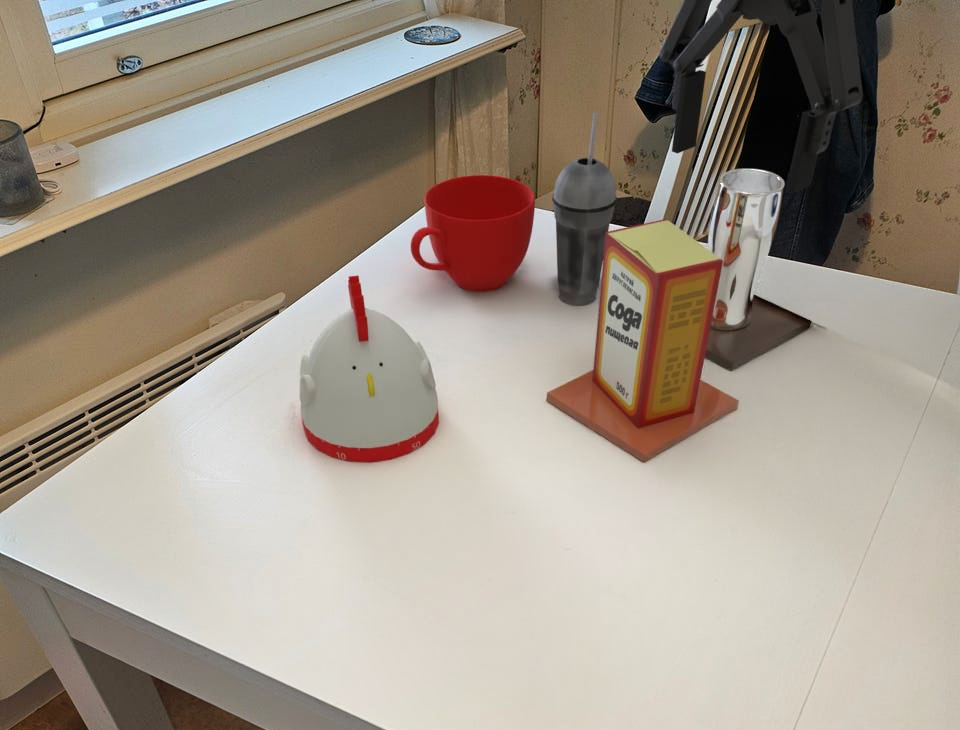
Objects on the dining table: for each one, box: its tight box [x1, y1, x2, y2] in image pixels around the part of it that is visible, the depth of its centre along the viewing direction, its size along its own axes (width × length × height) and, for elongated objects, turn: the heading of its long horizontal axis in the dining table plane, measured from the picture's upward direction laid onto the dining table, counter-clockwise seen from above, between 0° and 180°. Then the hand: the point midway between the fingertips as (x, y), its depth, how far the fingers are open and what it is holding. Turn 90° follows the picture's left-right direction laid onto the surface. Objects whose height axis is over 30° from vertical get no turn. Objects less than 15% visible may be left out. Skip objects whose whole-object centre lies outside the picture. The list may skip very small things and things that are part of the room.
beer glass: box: [707, 168, 785, 330], centre depth 98 cm, size 7×7×15 cm
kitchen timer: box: [299, 275, 440, 463], centre depth 87 cm, size 14×14×15 cm
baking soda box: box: [592, 218, 723, 428], centre depth 87 cm, size 10×6×16 cm
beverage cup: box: [551, 111, 618, 307], centre depth 102 cm, size 7×7×20 cm
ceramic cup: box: [410, 174, 536, 293], centre depth 108 cm, size 13×17×10 cm
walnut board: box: [704, 293, 812, 372], centre depth 104 cm, size 14×14×1 cm
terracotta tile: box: [545, 369, 740, 463], centre depth 93 cm, size 14×14×1 cm
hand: (738, 168), depth 85 cm, fingers open, 13 cm apart
